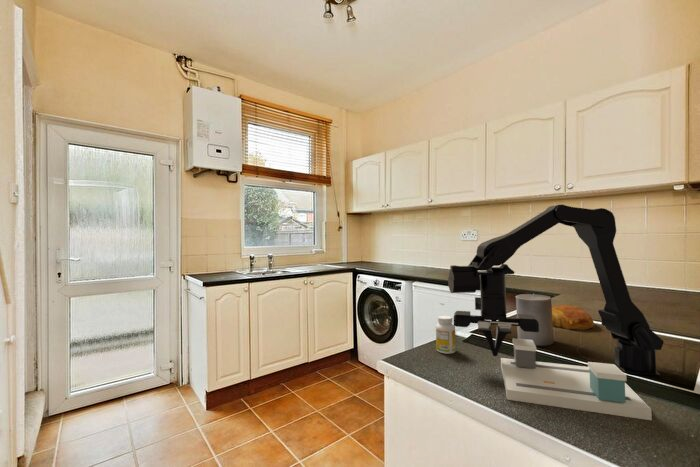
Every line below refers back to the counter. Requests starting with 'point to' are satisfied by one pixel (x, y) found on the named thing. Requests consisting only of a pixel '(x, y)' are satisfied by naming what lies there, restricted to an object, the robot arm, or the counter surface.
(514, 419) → the counter surface
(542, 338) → the pillar candle
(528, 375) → the slotted slider plate
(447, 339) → the supplement bottle
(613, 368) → the teal knob
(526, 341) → the grey and white slider
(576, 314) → the croissant
